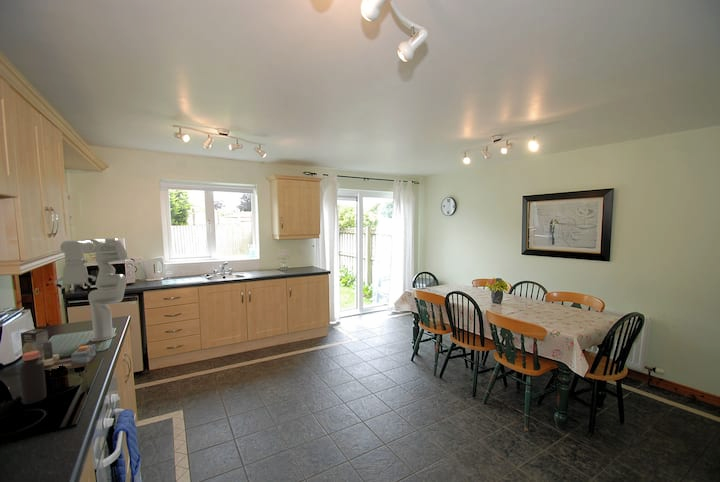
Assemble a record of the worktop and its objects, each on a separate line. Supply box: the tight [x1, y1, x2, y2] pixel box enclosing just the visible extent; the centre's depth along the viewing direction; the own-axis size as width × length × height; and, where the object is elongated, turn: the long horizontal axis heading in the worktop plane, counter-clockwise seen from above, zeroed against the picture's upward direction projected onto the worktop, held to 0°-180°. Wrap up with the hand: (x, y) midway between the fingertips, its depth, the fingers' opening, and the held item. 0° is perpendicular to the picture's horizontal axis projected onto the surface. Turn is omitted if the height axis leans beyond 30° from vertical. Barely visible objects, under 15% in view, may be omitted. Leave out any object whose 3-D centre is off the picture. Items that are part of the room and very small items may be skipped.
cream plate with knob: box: [41, 341, 60, 366], centre depth 155 cm, size 8×5×10 cm, turn 24°
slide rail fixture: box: [39, 343, 97, 370], centre depth 157 cm, size 12×22×7 cm, turn 114°
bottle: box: [19, 351, 47, 405], centre depth 126 cm, size 7×7×20 cm
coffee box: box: [20, 328, 49, 356], centre depth 165 cm, size 9×6×16 cm
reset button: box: [77, 344, 90, 351], centre depth 160 cm, size 3×3×3 cm
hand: (76, 294), depth 168 cm, fingers open, 9 cm apart
